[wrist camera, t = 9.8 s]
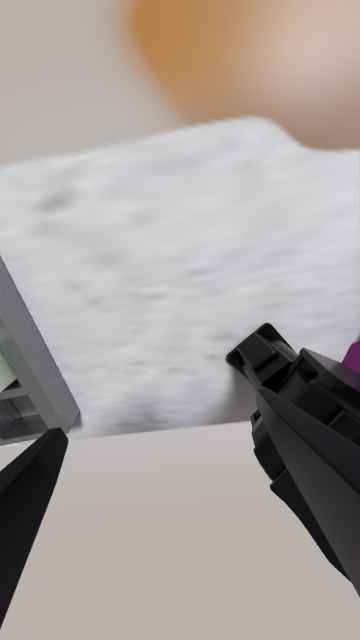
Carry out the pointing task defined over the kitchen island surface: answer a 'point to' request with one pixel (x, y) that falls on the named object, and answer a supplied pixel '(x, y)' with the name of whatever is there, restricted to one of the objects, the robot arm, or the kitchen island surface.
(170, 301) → the kitchen island surface
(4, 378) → the peg
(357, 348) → the mounting bracket
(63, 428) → the slotted holder
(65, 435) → the robot arm
